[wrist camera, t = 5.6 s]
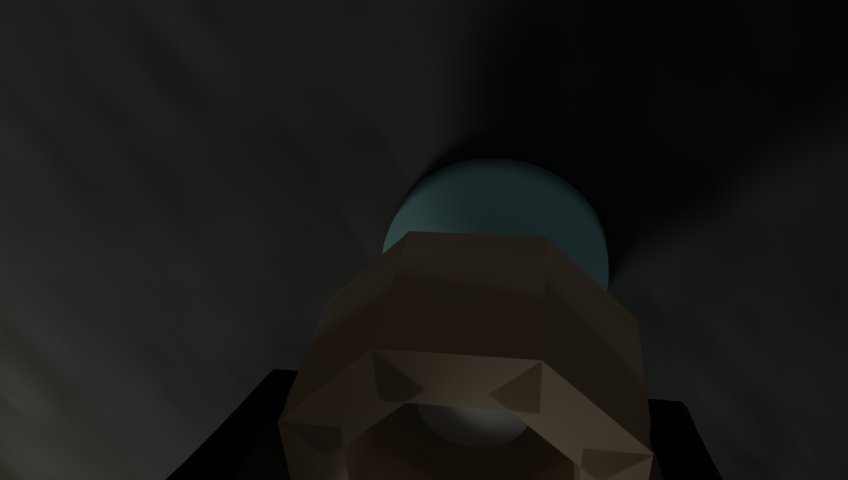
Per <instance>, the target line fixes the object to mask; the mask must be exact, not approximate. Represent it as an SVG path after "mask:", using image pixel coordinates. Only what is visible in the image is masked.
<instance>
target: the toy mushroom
mask: <svg viewBox="0 0 848 480" xmlns="http://www.w3.org/2000/svg"><path fill="white" fill-rule="evenodd" d="M409 231H421V232H444V233H467V234H489V235H512V236H535V237H547V238H548V239H549V240H550V241H551V242H552V243H553V244H555V245H556V246H557V247H558V248H559V249H560V250H561V251H562V252H563V253H564V254H566V255H567V256H568V257H569V258H570V259H571V260H572V261H573V262H574V263H575V264H577V265H578V266H579V267H580V268H581V269H582V270H583V271H584V272H585V273H586V274H588V275H589V276H590V277H591V278H592V279H593V280H594V281H595V282H596V283H597V284H599V285H600V286H601V287H602V288H603V289H604V290H605V291H606V292H607V287H608V282H609V265H608V252H607V244H606V236H605V233H604V230H603V227H602V224H601V222H600V220H599V218H598V216H597V214H596V212H595V210H594V209H593V207H592V206H591V205H590V203H589V202H588V201H587V199H586V198H585V197H584V196H583V195H582V194H581V193H580V192H579V191H578V190H577V189H576V188H575V187H573V186H572V185H571V184H570V183H569V182H567V181H566V180H564V179H562V178H561V177H559V176H558V175H556V174H554V173H552V172H550V171H548V170H546V169H544V168H542V167H539V166H536V165H533V164H530V163H527V162H522V161H517V160H513V159H503V158H479V159H473V160H466V161H462V162H459V163H455V164H452V165H449V166H447V167H444V168H442V169H440V170H437V171H436V172H434V173H432V174H431V175H429V176H427V177H426V178H424V179H423V180H422V181H421V182H419V183H418V184H417V185H415V187H414V188H413V189H412V190H411V191H410V192H409V193H408V194H407V195H406V196H405V198H404V199H403V201H402V202H401V204H400V205H399V207H398V209H397V211H396V213H395V215H394V218H393V221H392V223H391V226H390V229H389V231H388V234H387V237H386V240H385V243H384V248H383V253H384V252H386V251H387V250H388V249H389V248H390V247H391V246H393V245H394V244H395V243H396V242H397V241H398V240H399V239H401V238H402V237H403V236H404V235H405V234H406V233H408V232H409ZM417 405H418V410H419V413H420V415H421V417H422V419H423V421H424V422H425V423H426V425H427V426H428V427H429V428H430V429H431V430H432V431H433V432H435V433H436V434H437V435H439V436H440V437H442V438H444V439H446V440H448V441H450V442H453V443H456V444H459V445H462V446H467V447H474V448H488V447H495V446H499V445H503V444H506V443H508V442H510V441H512V440H514V439H515V438H517V437H518V436H519V435H520V434H521V433H522V432H523V431H524V430H525V429H526V427H527V424H525V423H524V422H523V421H522V420H520V419H519V418H518V417H517V416H515V415H514V414H513V413H512V412H510V411H503V410H491V409H479V408H466V407H454V406H442V405H429V404H417Z"/></svg>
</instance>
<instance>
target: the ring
mask: <svg viewBox="0 0 848 480" xmlns="http://www.w3.org/2000/svg"><path fill="white" fill-rule="evenodd" d="M417 404H429V405H442V406H454V407H466V408H479V409H491V410H503V411H510V412H512V413H513V414H514V415H515V416H517V417H518V418H519V419H520V420H522V421H523V422H524V423H525V424H527V427H526V429H525V430H524V431H523V432H522V433H521V434H520V435H519V436H518V437H517V438H515V439H514V440H512V441H510V442H508V443H506V444H503V445H499V446H495V447H488V448H474V447H467V446H462V445H459V444H456V443H453V442H450V441H448V440H446V439H444V438H442V437H440V436H439V435H437V434H436V433H435V432H433V431H432V430H431V429H430V428H429V427H428V426H427V425H426V423H425V422H424V421H423V419H422V417H421V415H420V413H419V410H418V405H417ZM277 423H278V427H279V431H280V436H281V440H282V444H283V448H284V453H285V457H286V461H287V466H288V470H289V474H290V479H291V480H649V475H650V470H651V464H652V459H653V449H652V444H651V440H650V428H651V421H650V414H649V406H648V399H647V391H646V383H645V376H644V368H643V361H642V353H641V345H640V338H639V330H638V323H637V319H636V318H635V317H634V316H633V315H632V314H631V313H629V312H628V311H627V310H626V309H625V308H624V307H623V306H622V305H621V304H620V303H618V302H617V301H616V300H615V299H614V298H613V297H612V296H611V295H610V294H608V293H607V292H606V291H605V290H604V289H603V288H602V287H601V286H600V285H599V284H597V283H596V282H595V281H594V280H593V279H592V278H591V277H590V276H589V275H588V274H586V273H585V272H584V271H583V270H582V269H581V268H580V267H579V266H578V265H577V264H575V263H574V262H573V261H572V260H571V259H570V258H569V257H568V256H567V255H566V254H564V253H563V252H562V251H561V250H560V249H559V248H558V247H557V246H556V245H555V244H553V243H552V242H551V241H550V240H549V239H548V238H547V237H535V236H512V235H489V234H467V233H444V232H421V231H409V232H408V233H406V234H405V235H404V236H403V237H402V238H401V239H399V240H398V241H397V242H396V243H395V244H394V245H393V246H391V247H390V248H389V249H388V250H387V251H386V252H384V253H383V254H382V255H381V256H380V257H379V258H377V259H376V260H375V261H374V262H373V263H372V264H371V265H369V266H368V267H367V268H366V269H365V270H364V271H362V272H361V273H360V274H359V275H358V276H357V277H356V278H354V279H353V280H352V281H351V282H350V283H349V284H347V285H346V286H345V287H344V288H343V289H342V290H340V291H339V292H338V293H337V294H336V295H335V296H334V297H332V298H331V299H330V300H329V301H328V303H327V305H326V308H325V310H324V312H323V315H322V317H321V320H320V322H319V324H318V327H317V329H316V331H315V334H314V336H313V338H312V341H311V343H310V345H309V348H308V350H307V352H306V355H305V357H304V359H303V362H302V364H301V367H300V369H299V371H298V374H297V376H296V378H295V381H294V383H293V385H292V388H291V390H290V392H289V395H288V397H287V402H286V405H285V407H284V409H283V411H282V413H281V415H280V417H279V419H278V421H277Z"/></svg>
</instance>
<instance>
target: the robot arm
mask: <svg viewBox="0 0 848 480" xmlns="http://www.w3.org/2000/svg"><path fill="white" fill-rule="evenodd" d="M297 374H298V371H291V370H279V369H274V370H273V371H272V372H270V373H269V374H268V375H267V376H266V377H265V378H264V380H263V381H262V382H261V383H260V384H259V385H258V386H257V387H256V388H255V389H254V390H253V391H252V392H251V394H250V395H249V396H248V397H247V398H246V399H245V400H244V401H243V402H242V403H241V404H240V405H239V406H238V408H237V409H236V410H235V411H234V412H233V413H232V414H231V415H230V416H229V417H228V418H227V419H226V420H225V421H224V422H223V423H222V424H221V426H220V427H219V428H218V429H217V430H216V431H215V432H214V433H213V434H212V435H211V436H210V437H209V438H208V439H207V440H206V441H205V442H204V443H203V444H202V445H201V446H200V447H199V448H198V449H197V450H196V451H195V452H194V453H193V454H192V455H191V456H190V457H189V458H188V459H187V460H186V461H185V462H184V463H183V464H182V465H181V466H180V467H179V468H178V469H177V470H175V471H174V472H173V473H172V474H171V475H170V476H169V477H168V478H167V479H166V480H291V479H290V474H289V470H288V466H287V461H286V457H285V453H284V448H283V444H282V440H281V436H280V431H279V427H278V423H277V421H278V419H279V417H280V415H281V413H282V411H283V409H284V407H285V405H286V402H287V397H288V395H289V392H290V390H291V388H292V385H293V383H294V381H295V378H296V376H297ZM648 406H649V414H650V421H651V428H650V440H651V444H652V449H653V459H652V464H651V470H650V475H649V480H723V479H722V477H721V476H720V474H719V472H718V470H717V468H716V466H715V464H714V463H713V461H712V459H711V457H710V455H709V453H708V451H707V449H706V447H705V445H704V443H703V441H702V439H701V437H700V435H699V433H698V431H697V429H696V427H695V424H694V422H693V420H692V418H691V416H690V413H689V411H688V408H687V407H686V406H685V405H684V404H683V403H682V402H681V401H668V400H656V399H648Z"/></svg>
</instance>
